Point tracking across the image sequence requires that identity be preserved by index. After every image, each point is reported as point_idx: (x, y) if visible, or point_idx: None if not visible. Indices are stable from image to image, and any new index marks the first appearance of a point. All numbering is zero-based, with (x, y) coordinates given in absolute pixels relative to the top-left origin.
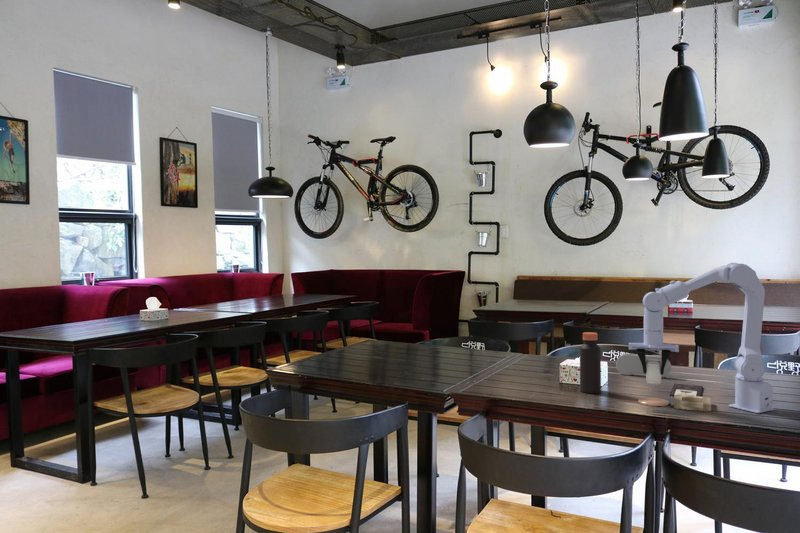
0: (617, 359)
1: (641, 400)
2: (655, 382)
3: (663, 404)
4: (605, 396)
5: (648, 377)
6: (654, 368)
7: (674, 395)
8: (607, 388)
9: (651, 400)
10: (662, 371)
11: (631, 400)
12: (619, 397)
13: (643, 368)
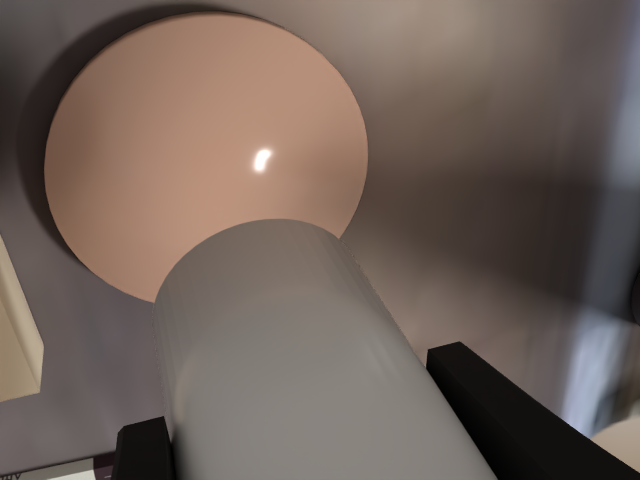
0: None
1: (335, 138)
2: (226, 245)
3: (78, 80)
4: (617, 184)
5: (360, 285)
6: (312, 436)
7: (89, 468)
8: (566, 397)
9: (240, 188)
10: (132, 467)
11: (420, 160)
12: (513, 210)
13: (517, 394)
